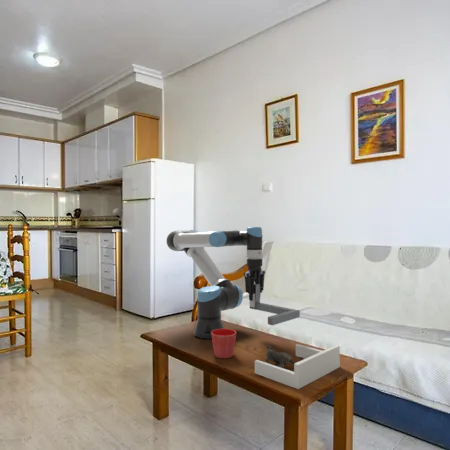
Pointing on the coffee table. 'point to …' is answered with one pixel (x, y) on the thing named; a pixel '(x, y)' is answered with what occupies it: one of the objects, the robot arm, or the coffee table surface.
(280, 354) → the dog figurine
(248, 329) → the coffee table surface
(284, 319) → the crook
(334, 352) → the low cubby
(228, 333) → the flower pot
